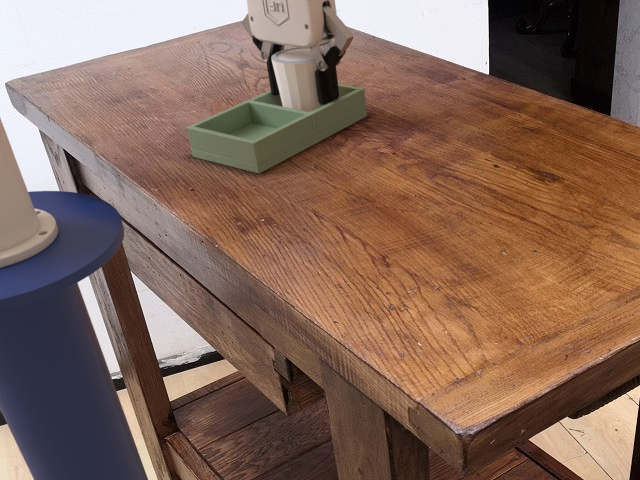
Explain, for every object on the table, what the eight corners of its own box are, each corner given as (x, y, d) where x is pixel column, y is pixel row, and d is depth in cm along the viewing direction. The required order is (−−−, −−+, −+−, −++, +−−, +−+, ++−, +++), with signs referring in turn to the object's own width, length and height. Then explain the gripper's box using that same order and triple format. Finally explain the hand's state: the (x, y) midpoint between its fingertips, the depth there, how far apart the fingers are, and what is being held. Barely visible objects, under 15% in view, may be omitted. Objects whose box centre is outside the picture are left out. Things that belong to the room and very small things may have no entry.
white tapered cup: (330, 122, 100) (323, 62, 96) (274, 123, 101) (264, 63, 96) (339, 103, 106) (332, 45, 101) (286, 104, 106) (277, 46, 102)
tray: (259, 174, 92) (253, 143, 90) (192, 157, 97) (185, 127, 95) (367, 116, 105) (364, 88, 103) (304, 103, 110) (300, 76, 107)
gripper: (200, -68, 92) (232, 95, 103) (322, -58, 84) (342, 118, 96) (247, -80, 97) (272, 78, 108) (366, -71, 89) (380, 98, 101)
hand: (305, 95), depth 102 cm, fingers closed on white tapered cup, 6 cm apart
